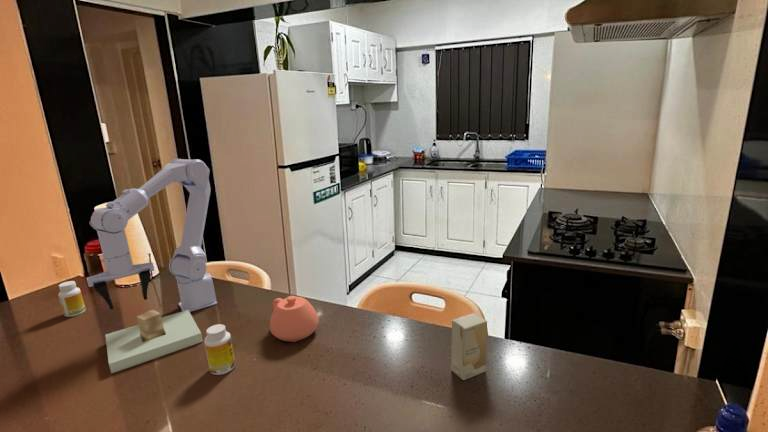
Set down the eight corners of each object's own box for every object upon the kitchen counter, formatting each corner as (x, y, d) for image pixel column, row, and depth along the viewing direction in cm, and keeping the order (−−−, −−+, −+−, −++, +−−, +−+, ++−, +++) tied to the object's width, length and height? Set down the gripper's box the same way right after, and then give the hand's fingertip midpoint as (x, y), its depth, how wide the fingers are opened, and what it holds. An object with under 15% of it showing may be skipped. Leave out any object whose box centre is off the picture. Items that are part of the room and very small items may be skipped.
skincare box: (463, 381, 86) (463, 329, 83) (450, 370, 90) (450, 319, 87) (487, 371, 89) (488, 320, 86) (474, 360, 93) (474, 311, 89)
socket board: (189, 317, 119) (188, 309, 118) (202, 341, 106) (201, 332, 106) (107, 343, 108) (105, 334, 107) (111, 373, 95) (108, 364, 95)
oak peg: (158, 336, 110) (152, 309, 108) (166, 340, 108) (160, 313, 105) (143, 344, 107) (136, 316, 104) (150, 348, 104) (144, 320, 102)
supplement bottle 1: (90, 308, 128) (82, 279, 125) (76, 317, 123) (67, 287, 120) (74, 308, 128) (66, 279, 126) (59, 317, 123) (50, 287, 121)
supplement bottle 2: (237, 371, 94) (230, 331, 91) (211, 379, 91) (203, 338, 89) (234, 358, 98) (227, 319, 96) (209, 365, 96) (201, 326, 93)
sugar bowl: (293, 352, 100) (288, 314, 97) (257, 335, 108) (251, 299, 105) (329, 328, 109) (325, 293, 106) (293, 314, 117) (289, 281, 115)
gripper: (146, 243, 112) (156, 289, 116) (81, 257, 104) (94, 306, 108) (150, 250, 107) (161, 298, 110) (82, 265, 99) (96, 316, 102)
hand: (128, 303), depth 109 cm, fingers open, 7 cm apart
